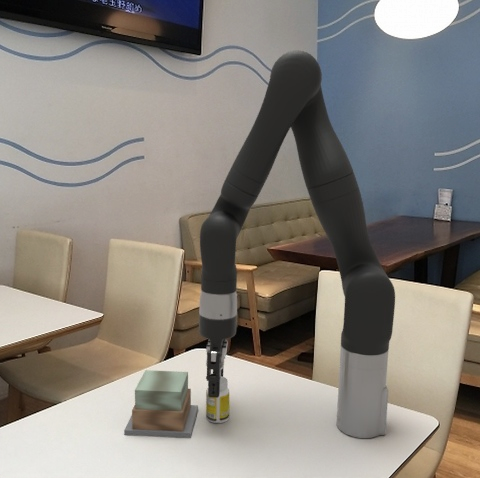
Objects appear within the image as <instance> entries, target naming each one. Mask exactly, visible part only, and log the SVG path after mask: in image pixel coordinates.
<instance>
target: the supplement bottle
mask: <svg viewBox="0 0 480 478" xmlns="http://www.w3.org/2000/svg"><path fill="white" fill-rule="evenodd" d="M228 383H229V382H228V378H226V377H225V376H223V377H222V376H221V379H220V394H219V397H218V398H213V397H209V396H208V387H207V389H206V392H205V394H206V395H205V396H206V397H205V398H206V401H205V402H206V404H205V406H206V414H205V415H206V419H207V421H208V422H209V423H213V424H222V423H225V422H227V421H229V419H230V389H229V387H228V386H229V385H228Z"/></svg>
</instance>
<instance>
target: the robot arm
mask: <svg viewBox="0 0 480 478" xmlns="http://www.w3.org/2000/svg"><path fill="white" fill-rule="evenodd" d="M322 77H323V76H322V70H321V67H320V63H319V62H318V60H317V59H316V57H314V55H312V54H311V53H309V52H307V51H304V50H299V49H297V50H291V51H288V52H286V53H283V54H282V55H281V56H279V57H278V59H277V60H276V61H275V62H274V64H273V65H272V68H271V70H270V76H269V80H268V84H267V87H266V91H265V95H264V97H263V98H264V99H263V101H262V103H261V107H260V109H259V111H258V113H257V115H256V118H255V121H254V122H253V125H252V127H251V130H250V131H249V133H248V135H247V136H246V139H245V140H244V142H243V144H242V146H241V148H240V150H239V151H238V154H237V155H236V157H235V158H234V161H233V163H232V165H231V167H230V169H229V171H228V173H227V175H226V177H225V180H224V182H223V184H222V186H221V190H220V195H219V197H218V198H217V200H216V202H215V204H214V206H213V208H212V210H211V212H210V213H209V215H208V217H207V218H206V219H205V220H204V221H203V223H202V224H201V227H200V231H199V248H200V250H199V251H200V258H201V275H200V276H201V280H200V284H201V285H200V287H201V288H200V295H199V296H200V297H199V306H198V307H199V313H198V333H199V335H200V336H201V337H203V338H205V339H208V340H207V344H206V349H205V351H206V361H205V362H206V364H205V366H206V376H205V379H206V381H207V388H208V396H209V397H213V398H218V397H219V394H220V379H221V376H222V377H224V366H225V359H226V356H227V352H228V351H227V349H228V344H229V343H228V340H229V339H231V338H233V337H235V335H236V334H237V321H238V320H237V319H238V296H237V295H238V294H237V288H238V287H237V283H238V282H237V280H238V270H237V265H236V248H237V239H238V237H239V235H240V233H241V231H242V228H243V226H244V224H245V222H246V220H247V218H248V215H249V212H250V210H251V209H252V207H253V206H254V203H255V202H256V201H257V199H258V197H259V196H260V193H261V191H262V190H263V187H264V186H265V183H266V181H267V180H268V178H269V176H270V173H271V170H272V169H273V166H274V164H275V161H276V159H277V156H278V154H279V151H280V149H281V147H282V144H283V142H284V140H285V138H286V136H287V135H288V133H289V131H290V129H291V131H292V134H293V138H294V141H295V146H296V150H297V155H298V156H297V157H298V161H299V164H300V170H301V173H302V177H303V180H304V183H305V187H306V189H307V193H308V196H309V198H310V202H311V204H312V206H313V210H314V211H315V214H316V216H317V219H318V221H319V222H320V225H321V226H322V229H323V231H324V232H325V235H326V236H327V238H328V240H329V243H330V244H331V246H332V249H333V252H334V256H335V259H336V262H337V266H338V272H339V275H340V276H339V277H340V279H341V280H340V281H341V287H342V291H343V292H342V293H343V295H344V307H343V308H344V310H343V311H344V312H343V325H342V326H343V327H342V331H341V335H340V350H339V351H340V355H339V370H338V371H339V372H338V389H337V390H338V391H337V392H338V394H337V408H336V409H337V410H336V427H337V428H338V429H339V431H340V432H342V433H343V434H345V435H347V436H350V437H353V438H360V439H371V438H376V437H378V436H386V431H387V429H386V428H387V416H388V402H389V389H388V387H387V386H388V385H387V377H388V376H387V375H388V361H389V348H390V342H391V338H392V336H393V329H394V328H393V327H394V317H395V307H396V291H395V287H394V285H393V282H392V280H391V279H390V278H389V276H388V275H387V273H386V271H385V270H384V268H383V266H382V264H381V262H380V260H379V258H378V256H377V254H376V251H375V250H374V246H373V245H372V241H371V239H370V236H369V233H368V232H369V231H368V227H367V222H366V221H367V220H366V214H365V213H366V212H365V207H364V202H363V197H362V194H361V191H360V187H359V184H358V181H357V178H356V175H355V172H354V169H353V167H352V164H351V161H350V159H349V157H348V155H347V152H346V151H345V149H344V147H343V144H342V143H341V141H340V139H339V137H338V135H337V133H336V132H335V129H334V127H333V125H332V123H331V120H330V117H329V114H328V110H327V107H326V103H325V99H324V95H323V89H322V79H323V78H322Z"/></svg>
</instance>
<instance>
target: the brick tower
mask: <svg viewBox="0 0 480 478" xmlns="http://www.w3.org/2000/svg"><path fill="white" fill-rule="evenodd" d="M191 391H192V389H191V388H189V371H177V370H176V371H175V370H172V371H171V370H151V369H150V370H149V369H148V370H144V372H143V374H142V376H141V378H140V380H139V381H138V383H137V385H136V387H135V389H134V406H133V407H132V410H131V416H132V429H140V430H162V431H184V427H185V424H186V421H187V417H188V414H189V411H190V407H191V405H192V400H191V399H192V397H191V396H192V392H191Z"/></svg>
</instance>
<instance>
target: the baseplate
mask: <svg viewBox="0 0 480 478" xmlns="http://www.w3.org/2000/svg"><path fill="white" fill-rule="evenodd" d="M198 412H199V405H196V404H191V407H190V411H189V414H188V417H187V421H186V424H185V427H184V431H162V430H140V429H132V415H131V416H130V418H129V419H128V421H127V424H126V426H125V427H124V430H123V431H124V433H123V434H124V435H125V436H138V437H139V436H141V437H160V438H161V437H164V438H167V437H168V438H185V439H186V438H187V439H190V438H191V437H192V435H193V429H194V426H195V423H196V418H197V415H198Z"/></svg>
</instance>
